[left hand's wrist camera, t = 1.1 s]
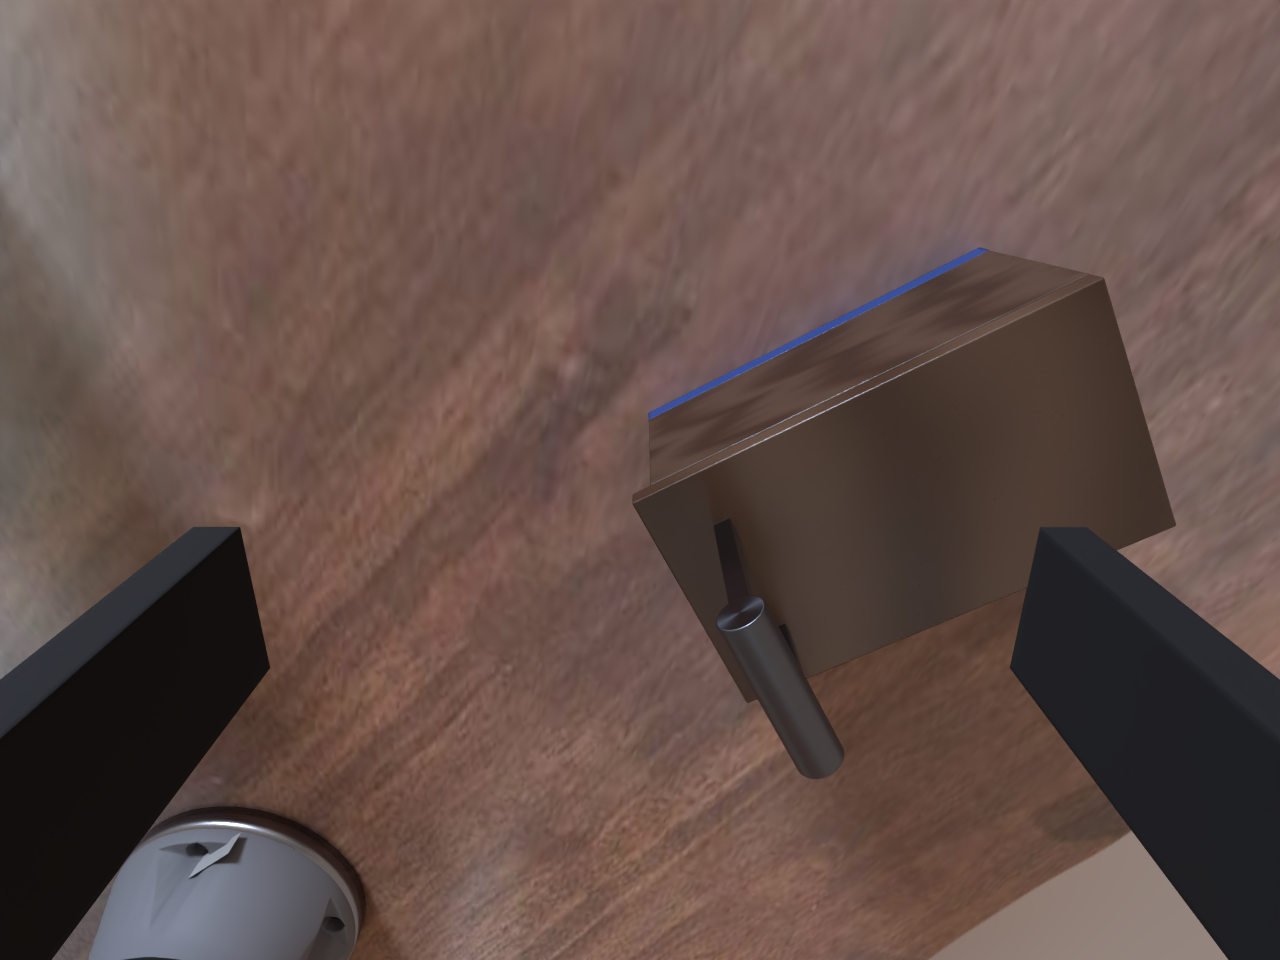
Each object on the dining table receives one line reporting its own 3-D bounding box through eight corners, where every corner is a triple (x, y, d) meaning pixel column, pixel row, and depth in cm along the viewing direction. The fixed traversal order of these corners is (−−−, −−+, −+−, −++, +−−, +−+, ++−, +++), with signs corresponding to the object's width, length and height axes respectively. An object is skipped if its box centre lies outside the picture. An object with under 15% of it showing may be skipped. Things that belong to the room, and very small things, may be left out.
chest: (736, 576, 42) (760, 683, 33) (648, 413, 38) (649, 484, 29) (1045, 437, 38) (1162, 515, 30) (979, 247, 35) (1089, 273, 26)
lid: (744, 690, 33) (775, 850, 25) (631, 494, 30) (627, 608, 22) (1162, 516, 30) (1344, 638, 22) (1090, 273, 26) (1275, 316, 19)
